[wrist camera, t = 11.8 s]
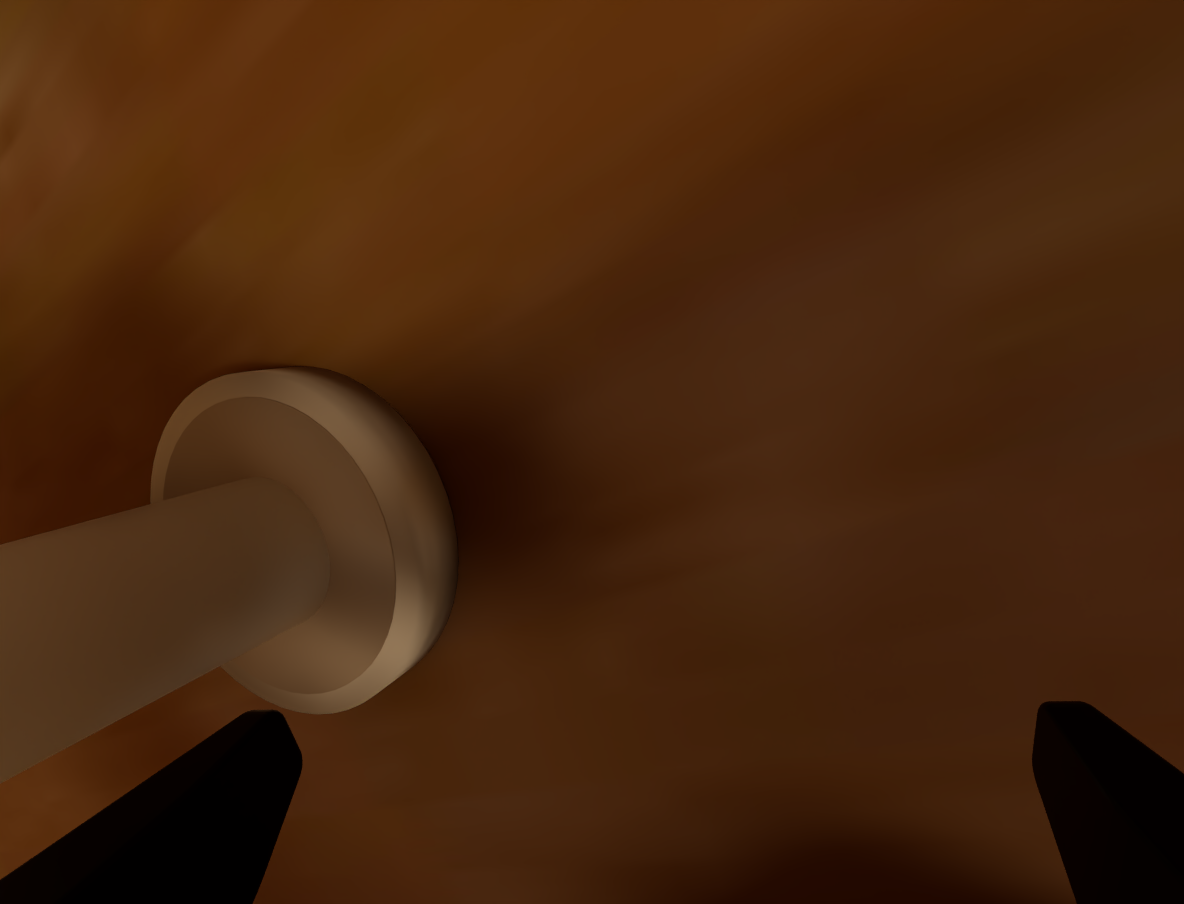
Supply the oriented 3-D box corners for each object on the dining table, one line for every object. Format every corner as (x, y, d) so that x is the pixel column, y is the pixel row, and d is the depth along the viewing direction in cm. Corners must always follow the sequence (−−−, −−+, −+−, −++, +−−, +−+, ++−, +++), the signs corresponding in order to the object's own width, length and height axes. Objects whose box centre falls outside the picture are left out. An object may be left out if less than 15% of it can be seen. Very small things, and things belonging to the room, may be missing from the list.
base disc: (476, 704, 24) (437, 742, 22) (232, 662, 29) (181, 690, 27) (435, 356, 22) (387, 362, 20) (179, 373, 27) (120, 380, 25)
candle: (353, 602, 23) (-333, 977, 10) (254, 640, 25) (-404, 983, 12) (287, 454, 23) (-489, 647, 10) (194, 505, 25) (-531, 715, 12)
